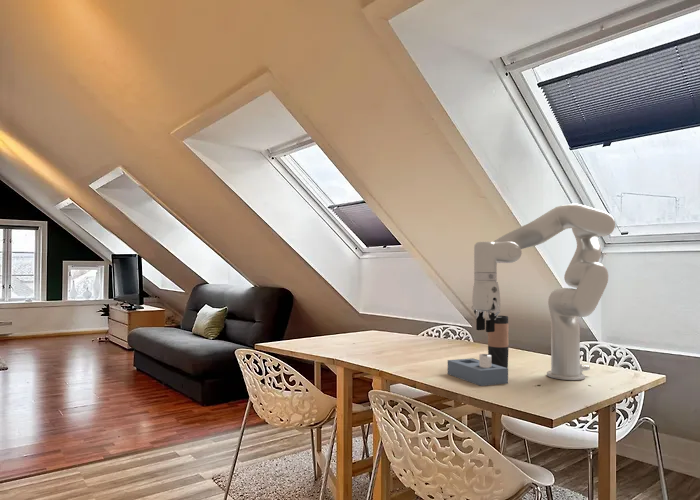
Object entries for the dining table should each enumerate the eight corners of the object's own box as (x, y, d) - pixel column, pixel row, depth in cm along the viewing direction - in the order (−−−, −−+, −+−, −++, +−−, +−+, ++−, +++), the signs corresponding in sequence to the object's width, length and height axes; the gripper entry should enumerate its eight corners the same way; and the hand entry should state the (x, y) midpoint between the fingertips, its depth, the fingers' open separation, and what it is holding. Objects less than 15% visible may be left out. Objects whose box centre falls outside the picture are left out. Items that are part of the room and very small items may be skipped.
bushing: (486, 379, 183) (486, 353, 183) (493, 382, 179) (493, 355, 179) (477, 380, 181) (477, 354, 182) (484, 383, 178) (484, 356, 178)
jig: (472, 371, 196) (472, 358, 196) (508, 383, 178) (508, 368, 178) (447, 373, 192) (447, 360, 192) (480, 385, 174) (480, 370, 174)
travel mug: (502, 371, 198) (502, 317, 198) (484, 368, 203) (484, 316, 203) (512, 368, 203) (511, 316, 204) (493, 365, 208) (493, 314, 209)
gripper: (510, 278, 175) (510, 333, 174) (479, 277, 190) (479, 327, 190) (491, 278, 172) (491, 334, 171) (462, 277, 188) (461, 328, 187)
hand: (485, 330), depth 181 cm, fingers open, 4 cm apart
